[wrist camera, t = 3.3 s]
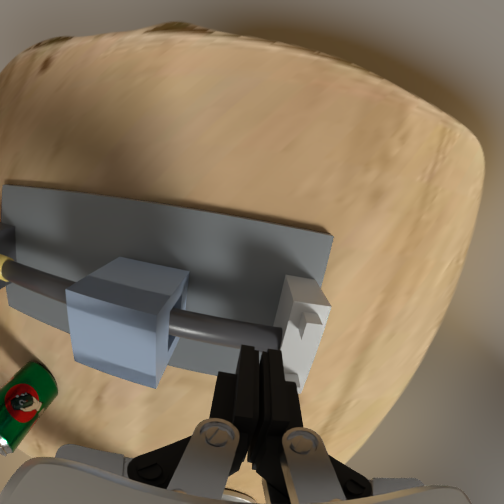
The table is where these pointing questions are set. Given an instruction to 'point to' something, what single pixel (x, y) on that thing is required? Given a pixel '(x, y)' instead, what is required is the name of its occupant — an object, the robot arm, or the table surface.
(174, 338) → the sleeve
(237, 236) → the linear slide rail
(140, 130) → the table surface
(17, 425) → the soda can
